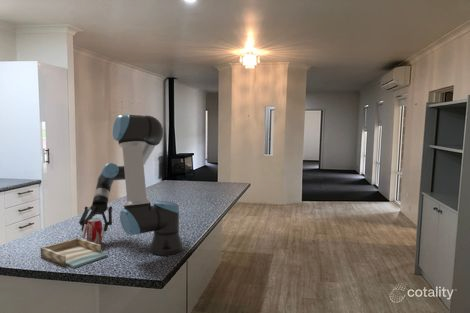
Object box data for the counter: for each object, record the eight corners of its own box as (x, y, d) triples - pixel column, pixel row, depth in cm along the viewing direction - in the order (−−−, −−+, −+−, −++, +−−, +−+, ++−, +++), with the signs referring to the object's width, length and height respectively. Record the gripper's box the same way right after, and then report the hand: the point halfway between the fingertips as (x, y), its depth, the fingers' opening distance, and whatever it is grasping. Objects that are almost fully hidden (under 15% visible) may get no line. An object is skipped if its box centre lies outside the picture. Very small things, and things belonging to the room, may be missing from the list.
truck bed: (109, 256, 156) (108, 247, 156) (71, 268, 141) (71, 259, 141) (78, 245, 170) (78, 237, 169) (40, 256, 155) (40, 247, 154)
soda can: (83, 244, 172) (83, 220, 171) (94, 240, 178) (94, 217, 177) (95, 246, 169) (94, 222, 168) (105, 242, 176) (105, 218, 175)
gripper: (122, 202, 189) (116, 240, 174) (82, 202, 186) (72, 241, 172) (120, 194, 183) (113, 233, 168) (78, 194, 181) (68, 233, 166)
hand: (92, 237), depth 170 cm, fingers open, 8 cm apart
